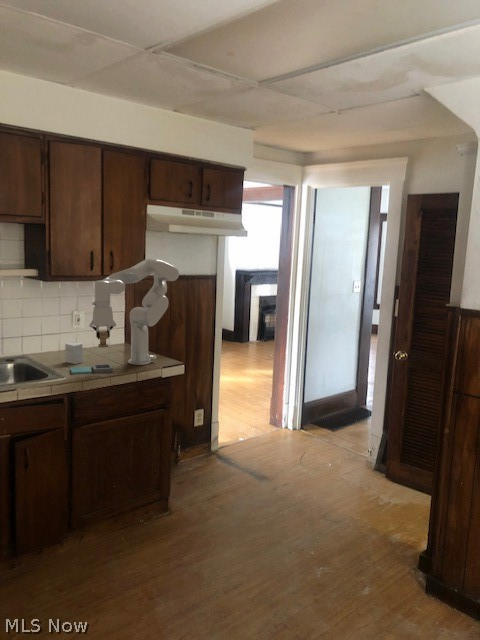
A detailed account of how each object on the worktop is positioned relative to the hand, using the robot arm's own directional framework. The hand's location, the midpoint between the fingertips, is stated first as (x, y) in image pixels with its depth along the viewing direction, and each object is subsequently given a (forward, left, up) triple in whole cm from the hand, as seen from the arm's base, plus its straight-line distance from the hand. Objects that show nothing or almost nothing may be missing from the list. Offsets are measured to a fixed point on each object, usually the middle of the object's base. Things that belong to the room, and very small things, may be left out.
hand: (103, 338), depth 279 cm
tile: (+11, 0, -17) cm, 21 cm away
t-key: (0, 0, -4) cm, 4 cm away
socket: (0, 0, -17) cm, 17 cm away
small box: (+13, -20, -17) cm, 30 cm away
